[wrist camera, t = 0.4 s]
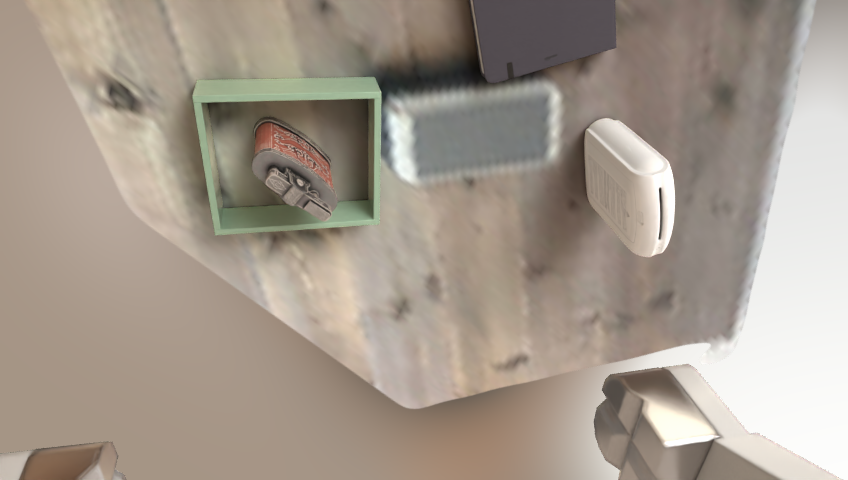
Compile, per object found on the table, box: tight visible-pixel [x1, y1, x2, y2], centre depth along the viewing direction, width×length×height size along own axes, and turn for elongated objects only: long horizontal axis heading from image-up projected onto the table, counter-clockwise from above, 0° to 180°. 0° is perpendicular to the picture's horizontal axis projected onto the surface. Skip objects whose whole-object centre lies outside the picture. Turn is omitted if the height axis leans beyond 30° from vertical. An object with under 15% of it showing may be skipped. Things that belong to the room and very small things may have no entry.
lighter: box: [252, 117, 338, 222], centre depth 52 cm, size 8×3×10 cm, turn 47°
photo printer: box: [584, 118, 675, 257], centre depth 59 cm, size 10×4×12 cm, turn 12°
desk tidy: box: [192, 77, 381, 235], centre depth 55 cm, size 13×15×4 cm
